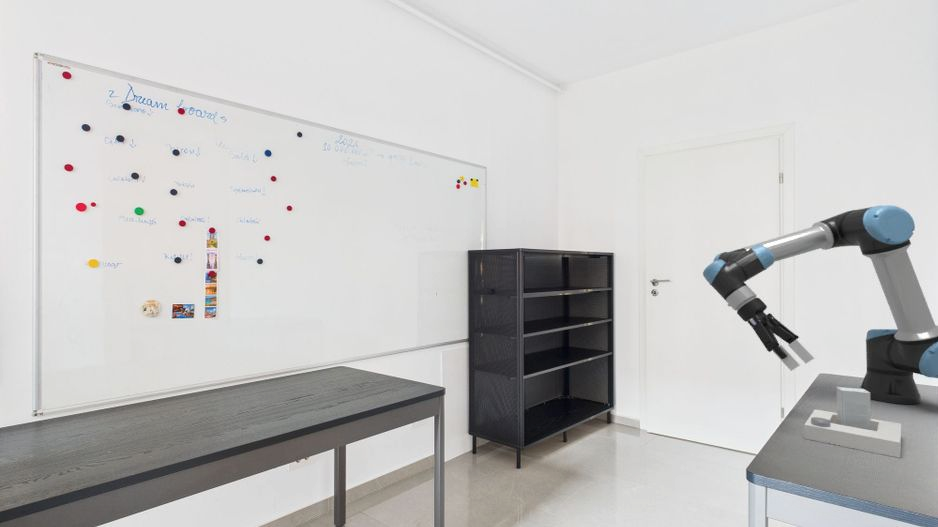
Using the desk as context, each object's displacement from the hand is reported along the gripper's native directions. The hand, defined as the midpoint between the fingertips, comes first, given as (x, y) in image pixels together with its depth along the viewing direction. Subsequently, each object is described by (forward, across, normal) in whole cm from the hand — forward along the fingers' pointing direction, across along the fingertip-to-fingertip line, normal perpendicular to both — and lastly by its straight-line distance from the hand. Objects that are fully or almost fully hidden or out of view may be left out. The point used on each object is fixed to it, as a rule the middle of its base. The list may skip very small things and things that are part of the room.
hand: (803, 364), depth 132 cm
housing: (+20, +3, -3) cm, 20 cm away
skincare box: (+20, +2, -3) cm, 20 cm away
